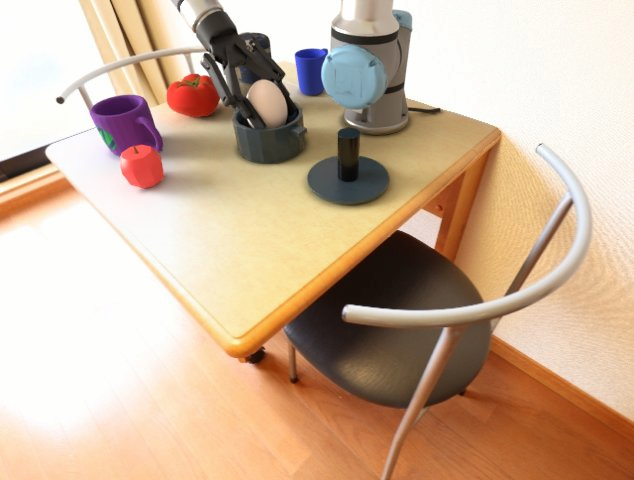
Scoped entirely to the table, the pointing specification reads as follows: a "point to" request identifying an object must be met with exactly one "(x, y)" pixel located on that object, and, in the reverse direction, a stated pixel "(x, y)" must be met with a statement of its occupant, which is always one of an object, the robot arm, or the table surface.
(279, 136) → the pot
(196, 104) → the tomato
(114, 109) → the mug
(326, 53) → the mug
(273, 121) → the egg
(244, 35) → the canister
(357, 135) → the lid
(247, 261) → the table surface
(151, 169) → the apple
